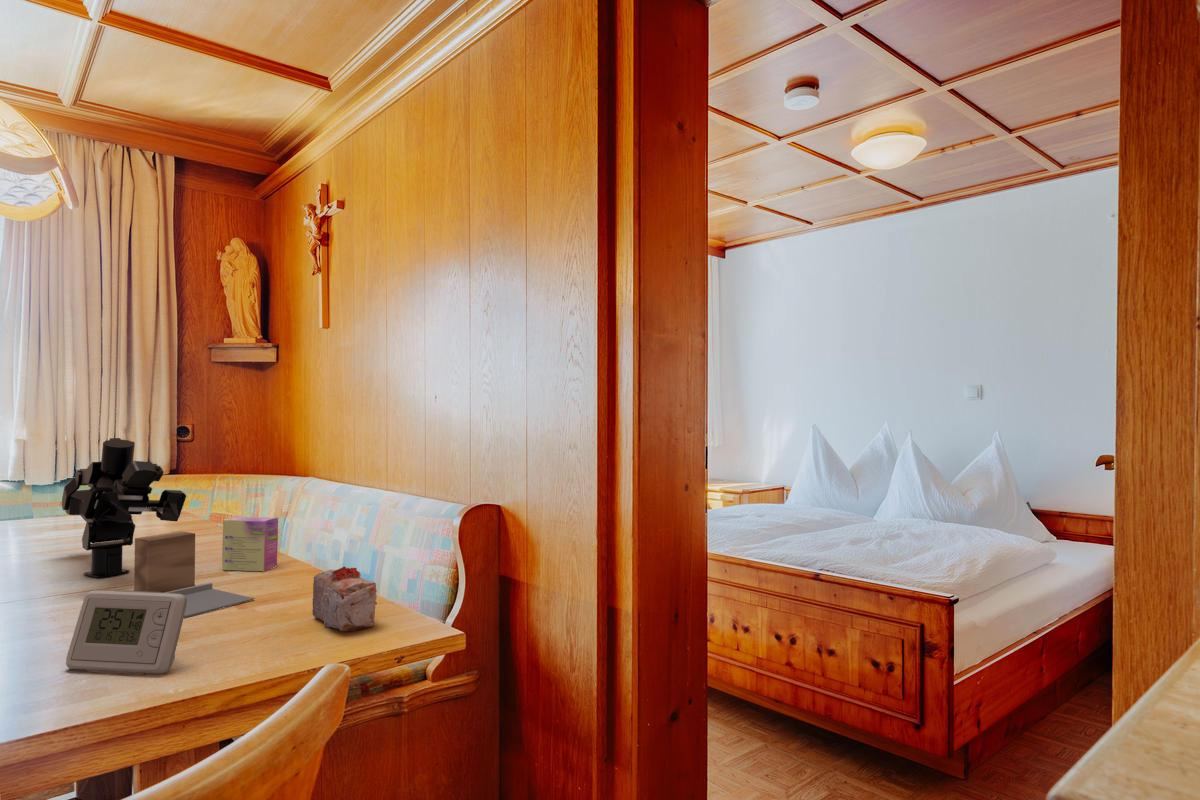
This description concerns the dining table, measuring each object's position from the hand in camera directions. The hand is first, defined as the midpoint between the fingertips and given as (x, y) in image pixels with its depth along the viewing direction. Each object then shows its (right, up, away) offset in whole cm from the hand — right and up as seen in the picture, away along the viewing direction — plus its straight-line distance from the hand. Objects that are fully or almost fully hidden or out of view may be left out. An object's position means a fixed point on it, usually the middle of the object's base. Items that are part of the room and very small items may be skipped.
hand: (154, 519), depth 143 cm
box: (+10, -15, +20) cm, 27 cm away
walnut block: (+4, -15, -3) cm, 16 cm away
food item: (+46, -15, -21) cm, 53 cm away
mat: (+14, -15, -9) cm, 22 cm away
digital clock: (+23, -15, -42) cm, 50 cm away
